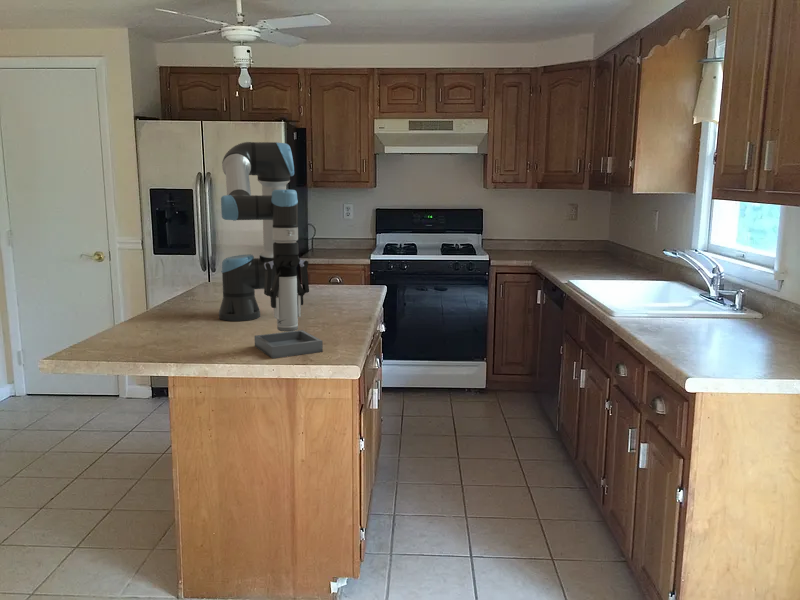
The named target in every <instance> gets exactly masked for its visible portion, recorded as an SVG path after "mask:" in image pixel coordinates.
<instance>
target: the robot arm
mask: <svg viewBox="0 0 800 600" xmlns="http://www.w3.org/2000/svg"><path fill="white" fill-rule="evenodd" d="M293 158H294V157H293V153H292V149H291V146H290V145H289V144H288V143H284V142H277V141H274V142H268V141H267V142H265V141H264V142H262V141H261V142H260V141H257V142H253V141H246V142H245V141H244V142H241V143H238V144H236V145H234V146H233V147H231V148H230V149H229V150H228V151H227V152H226V153H225V154H224V156H223V159H222V161H221V164H222V166H221V167H222V172H223V173H224V175H225V184H226V185H225V186H226V188H225V189H226V195H222V196H221V197H220V210H221V212H220V213H221V218H222V219H223V220H224V221H225V220H227V221H233V222H234V221H235V222H236V221H262V234H263V235H262V242H263V249H262V250H261V251H260V252H259V257H258V258H255V256H254V255H253V254H251V253H250V254H238V255H232V256H228V257H226V258H224V259H223V260H222V262H221V274H222V275H221V276H222V301H221V302H220V303H221V304H220V307H219V309H218V310H219V311H218V318H219V319H220V320H222V321H229V322H240V321H241V322H244V321H252V320H256V319H259V318H260V317H261V310H260V306H259V304H258V301H257V299H256V295H255V290H263V294H264V295H265V296H267V297H269V298H270V307H271V308H273V318H274V319H276V320H277V319H279V297H277V292H278V289H279V276H280V275H281V270H280V272H279V273H278V275H276V274H277V273H276V267H277V269H278V267H284V266H290V267H296V268H297V267H298V266H299V267H300V277H301V278H299V275H298V270H296V274H297V277H296V278H297V307H298V318H299V317H302V315H301V314H302V309H301V308H302V306H303V305H304V295H305V294H307V293H309V292H310V286H309V285H310V284H309V275H308V266H309V261H308V260H306V259H305V260H304V259H300V256H299V253H300V252H299V243H298V242H297V241H299V223H298V220H299V219H298V215H299V213H298V211H299V210H298V205H299V204H298V203H299V200H298V193H297V190H295V189H287V185H288V183H290V182H291V177H293V176H294V175H295V165H294V159H293ZM250 176H257V181H258V182H259V184H261V195H256V194H255V195H252V192H251V191H252V190H251V182H250ZM300 279H301V281H300Z"/></svg>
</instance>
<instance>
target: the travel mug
mask: <svg viewBox="0 0 800 600" xmlns="http://www.w3.org/2000/svg"><path fill="white" fill-rule="evenodd" d="M280 270H281V275H280V276H279V289H278V292H277V296H276V297H279V319H276V323H277V324H276V326H277V327H276V329H277V331H278V332H279V331H280V332H290V331H298V329H299V324H298V323H299V320H298V318H299V317H298V307H297V295H298V293H297V278H296V277H297V274H296V270H297V267H290V266H284V267H278V269H277V267H276V273H277V274H276V275H278V273H279V272H280ZM297 271H298V270H297Z"/></svg>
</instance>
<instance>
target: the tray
mask: <svg viewBox="0 0 800 600" xmlns="http://www.w3.org/2000/svg"><path fill="white" fill-rule="evenodd" d="M256 347H257V348H256ZM323 347H324V346H323V340H322V339H320V338H319V337H316V336H314V335H313V334H311V333H309V332H307V331H305V330H303V329H299V330H295V331H281V332H274V333H267V334H259V335H254V348H256V349H258V350H259V351H261V352H262V353H263V354H265V355H267V356H268V358H271V359H272V360H273V359H279V358H280V357H281V358H287V356H288V357H294V355H296V356H301V355H302V354H303V355H309V354H316V353H323V352H324V351H323Z"/></svg>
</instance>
